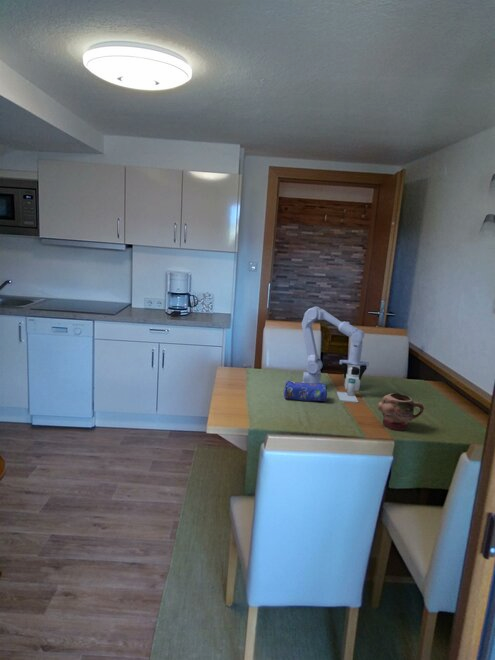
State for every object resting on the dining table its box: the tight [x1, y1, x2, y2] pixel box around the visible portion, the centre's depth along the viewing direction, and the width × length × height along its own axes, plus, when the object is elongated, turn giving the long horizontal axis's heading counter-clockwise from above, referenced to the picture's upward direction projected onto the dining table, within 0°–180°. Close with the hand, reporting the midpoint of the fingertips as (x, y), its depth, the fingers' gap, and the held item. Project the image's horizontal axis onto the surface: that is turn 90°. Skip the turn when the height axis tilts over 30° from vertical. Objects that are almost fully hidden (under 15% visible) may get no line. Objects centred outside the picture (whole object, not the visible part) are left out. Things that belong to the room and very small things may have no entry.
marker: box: [346, 378, 356, 396], centre depth 228 cm, size 4×4×8 cm
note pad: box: [336, 390, 359, 404], centre depth 226 cm, size 9×13×1 cm
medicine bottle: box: [344, 366, 361, 392], centre depth 240 cm, size 7×7×12 cm
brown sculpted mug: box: [376, 392, 425, 431], centre depth 193 cm, size 20×12×14 cm, turn 93°
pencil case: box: [283, 380, 328, 402], centre depth 218 cm, size 22×9×10 cm, turn 89°
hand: (352, 378), depth 227 cm, fingers open, 7 cm apart
